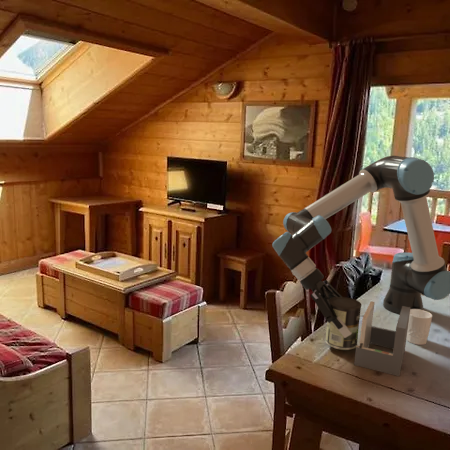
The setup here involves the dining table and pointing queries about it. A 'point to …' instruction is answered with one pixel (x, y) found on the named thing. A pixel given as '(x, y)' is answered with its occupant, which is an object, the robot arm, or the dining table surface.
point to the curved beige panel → (367, 326)
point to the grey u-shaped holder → (386, 339)
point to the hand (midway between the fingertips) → (351, 329)
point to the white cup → (418, 326)
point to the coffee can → (350, 316)
